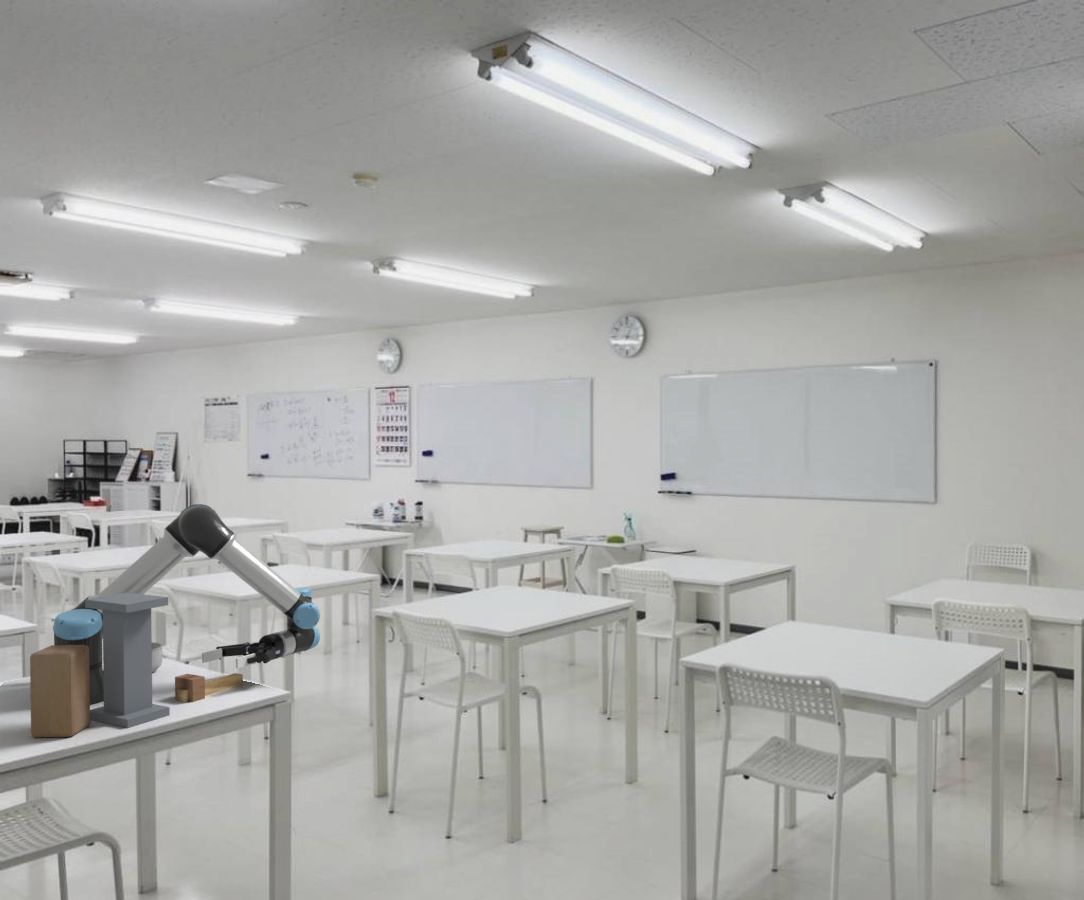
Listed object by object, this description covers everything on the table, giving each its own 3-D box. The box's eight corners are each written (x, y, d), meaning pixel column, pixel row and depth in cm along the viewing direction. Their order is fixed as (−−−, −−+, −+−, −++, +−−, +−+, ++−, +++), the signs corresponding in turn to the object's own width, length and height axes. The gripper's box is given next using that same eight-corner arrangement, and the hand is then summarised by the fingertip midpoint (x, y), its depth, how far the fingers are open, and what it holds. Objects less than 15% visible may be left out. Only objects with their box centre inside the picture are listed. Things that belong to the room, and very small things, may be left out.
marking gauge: (172, 699, 248) (171, 677, 248) (230, 682, 266) (230, 662, 266) (189, 703, 245) (189, 680, 245) (247, 685, 262) (247, 664, 262)
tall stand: (86, 718, 232) (85, 599, 231) (128, 706, 242) (127, 592, 242) (127, 727, 224) (126, 604, 224) (169, 714, 234) (168, 597, 234)
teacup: (170, 670, 280) (170, 644, 280) (138, 678, 271) (137, 651, 271) (142, 665, 288) (141, 639, 288) (110, 672, 279) (109, 646, 279)
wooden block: (91, 725, 226) (90, 643, 226) (72, 738, 216) (71, 653, 216) (50, 725, 226) (49, 644, 226) (29, 738, 216) (28, 653, 216)
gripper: (307, 662, 270) (251, 679, 252) (246, 653, 282) (189, 668, 264) (306, 637, 270) (251, 651, 252) (246, 629, 282) (189, 642, 264)
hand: (219, 660), depth 258 cm, fingers open, 13 cm apart
